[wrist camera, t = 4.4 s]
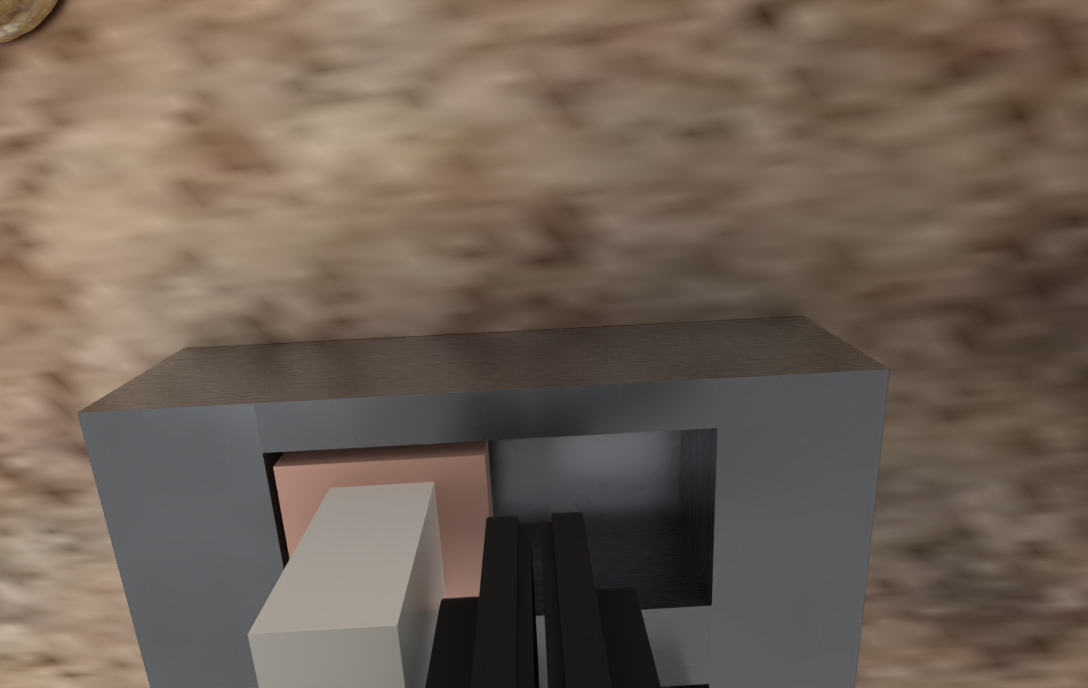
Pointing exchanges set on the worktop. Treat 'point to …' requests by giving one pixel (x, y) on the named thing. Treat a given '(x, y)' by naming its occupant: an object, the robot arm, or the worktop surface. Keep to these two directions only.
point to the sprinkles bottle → (22, 16)
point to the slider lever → (370, 562)
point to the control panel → (524, 480)
